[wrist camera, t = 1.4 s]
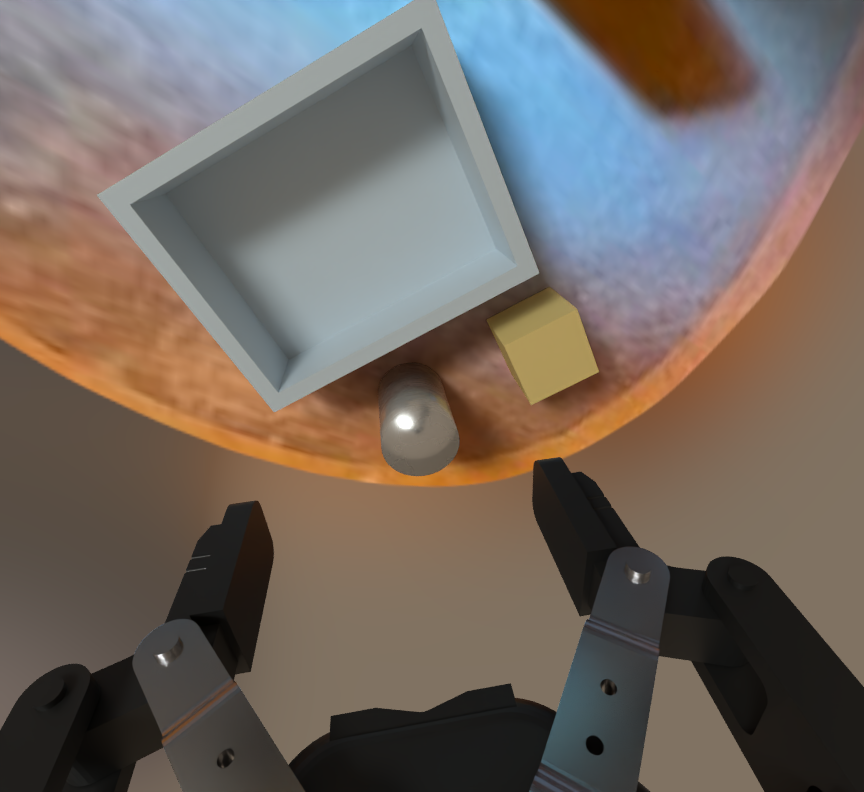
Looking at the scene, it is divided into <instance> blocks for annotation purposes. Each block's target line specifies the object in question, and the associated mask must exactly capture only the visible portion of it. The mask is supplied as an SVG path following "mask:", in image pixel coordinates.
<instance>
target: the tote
mask: <svg viewBox="0 0 864 792" xmlns="http://www.w3.org/2000/svg"><path fill="white" fill-rule="evenodd" d="M97 196H98V197H99V198H100V200H101V201H102V202H103V203H104V205H105V206H106V207H107V208H108V209H109V211H110V212H111V213H112V214H113V216H114V217H115V218H116V219H117V221H118V222H119V223H120V224H121V225H122V227H123V228H124V229H125V230H126V232H127V233H128V234H129V235H130V236H131V238H132V239H133V240H134V241H135V243H136V244H137V245H138V246H139V247H140V249H141V250H142V251H143V252H144V254H145V255H146V256H147V257H148V258H149V260H150V261H151V262H152V263H153V265H154V266H155V267H156V268H157V269H158V271H159V272H160V273H161V274H162V276H163V277H164V278H165V279H166V280H167V282H168V283H169V284H170V285H171V287H172V288H173V289H174V290H175V292H176V293H177V294H178V295H179V296H180V298H181V299H182V300H183V301H184V303H185V304H186V305H187V306H188V307H189V309H190V310H191V311H192V312H193V314H194V315H195V316H196V317H197V318H198V320H199V321H200V322H201V323H202V325H203V326H204V327H205V328H206V329H207V331H208V332H209V333H210V334H211V336H212V337H213V338H214V339H215V340H216V342H217V343H218V344H219V345H220V347H221V348H222V349H223V350H224V351H225V353H226V354H227V355H228V356H229V358H230V359H231V360H232V361H233V363H234V364H235V365H236V366H237V367H238V369H239V370H240V371H241V372H242V374H243V375H244V376H245V377H246V378H247V380H248V381H249V382H250V383H251V385H252V386H253V387H254V388H255V389H256V391H257V392H258V393H259V394H260V396H261V397H262V398H263V399H264V400H265V402H266V403H267V404H268V405H269V407H270V408H271V409H272V410H273V411H274V412H276V411H278V410H280V409H281V408H283V407H285V406H287V405H289V404H291V403H293V402H295V401H297V400H299V399H300V398H302V397H304V396H306V395H308V394H310V393H312V392H314V391H316V390H318V389H320V388H321V387H323V386H325V385H327V384H329V383H331V382H333V381H335V380H337V379H339V378H341V377H342V376H344V375H346V374H348V373H350V372H352V371H354V370H356V369H358V368H360V367H362V366H363V365H365V364H367V363H369V362H371V361H373V360H375V359H377V358H379V357H381V356H383V355H384V354H386V353H388V352H390V351H392V350H394V349H396V348H398V347H400V346H402V345H403V344H405V343H407V342H409V341H411V340H413V339H415V338H417V337H419V336H421V335H423V334H424V333H426V332H428V331H430V330H432V329H434V328H436V327H438V326H440V325H442V324H444V323H445V322H447V321H449V320H451V319H453V318H455V317H457V316H459V315H461V314H463V313H465V312H466V311H468V310H470V309H472V308H474V307H476V306H478V305H480V304H482V303H484V302H486V301H487V300H489V299H491V298H493V297H495V296H497V295H499V294H501V293H503V292H505V291H507V290H508V289H510V288H512V287H514V286H516V285H518V284H520V283H522V282H524V281H526V280H527V279H529V278H531V277H533V276H535V275H537V274H539V271H538V268H537V265H536V263H535V260H534V258H533V255H532V252H531V250H530V247H529V244H528V242H527V239H526V236H525V234H524V231H523V229H522V226H521V223H520V221H519V218H518V215H517V213H516V210H515V208H514V205H513V202H512V200H511V197H510V194H509V192H508V189H507V186H506V184H505V181H504V179H503V176H502V173H501V171H500V168H499V165H498V163H497V160H496V157H495V155H494V152H493V150H492V147H491V144H490V142H489V139H488V136H487V134H486V131H485V129H484V126H483V123H482V121H481V118H480V115H479V113H478V110H477V107H476V105H475V102H474V100H473V97H472V94H471V92H470V89H469V86H468V84H467V81H466V79H465V76H464V73H463V71H462V68H461V65H460V63H459V60H458V57H457V55H456V52H455V50H454V47H453V44H452V42H451V39H450V36H449V34H448V31H447V28H446V26H445V23H444V21H443V18H442V15H441V13H440V10H439V7H438V5H437V2H436V0H414V1H412V2H410V3H409V4H407V5H406V6H404V7H402V8H401V9H399V10H397V11H396V12H394V13H393V14H391V15H389V16H388V17H386V18H384V19H383V20H381V21H380V22H378V23H376V24H375V25H373V26H371V27H370V28H368V29H366V30H365V31H363V32H362V33H360V34H358V35H357V36H355V37H353V38H352V39H350V40H349V41H347V42H345V43H344V44H342V45H340V46H339V47H337V48H336V49H334V50H332V51H331V52H329V53H327V54H326V55H324V56H323V57H321V58H319V59H318V60H316V61H314V62H313V63H311V64H310V65H308V66H306V67H305V68H303V69H301V70H300V71H298V72H296V73H295V74H293V75H292V76H290V77H288V78H287V79H285V80H283V81H282V82H280V83H279V84H277V85H275V86H274V87H272V88H270V89H269V90H267V91H266V92H264V93H262V94H261V95H259V96H257V97H256V98H254V99H253V100H251V101H249V102H248V103H246V104H244V105H243V106H241V107H240V108H238V109H236V110H235V111H233V112H231V113H230V114H228V115H226V116H225V117H223V118H222V119H220V120H218V121H217V122H215V123H213V124H212V125H210V126H209V127H207V128H205V129H204V130H202V131H200V132H199V133H197V134H196V135H194V136H192V137H191V138H189V139H187V140H186V141H184V142H183V143H181V144H179V145H178V146H176V147H174V148H173V149H171V150H170V151H168V152H166V153H165V154H163V155H161V156H160V157H158V158H156V159H155V160H153V161H152V162H150V163H148V164H147V165H145V166H143V167H142V168H140V169H139V170H137V171H135V172H134V173H132V174H130V175H129V176H127V177H126V178H124V179H122V180H121V181H119V182H117V183H116V184H114V185H113V186H111V187H109V188H108V189H106V190H104V191H103V192H101V193H100V194H98V195H97Z"/></svg>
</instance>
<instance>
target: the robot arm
mask: <svg viewBox="0 0 864 792" xmlns="http://www.w3.org/2000/svg"><path fill="white" fill-rule="evenodd" d="M532 502H533V510H534V514H535V518H536V521H537V523H538V525H539V527H540V530H541V532H542V534H543V536H544V539H545V541H546V543H547V545H548V547H549V550H550V552H551V554H552V556H553V558H554V561H555V563H556V565H557V567H558V569H559V572H560V574H561V576H562V578H563V580H564V583H565V585H566V587H567V589H568V591H569V593H570V596H571V598H572V600H573V602H574V604H575V607H576V609H577V611H578V613H579V616H584V615H590V614H591V615H590V618H589V620H588V619H587V620H586V622H585V625H584V627H583V631H582V634H581V637H580V640H579V643H578V646H577V649H576V653H575V656H574V659H573V662H572V665H571V669H570V672H569V675H568V678H567V681H566V684H565V687H564V691H563V694H562V697H561V700H560V703H559V707H558V710H557V712H555V711H554V710H552V709H550V708H548V707H546V706H544V705H541V704H539V703H536V702H533V701H529V700H525V699H520V698H515V697H514V694H513V690H512V686H511V684H505V685H499V686H495V687H489V688H483V689H477V690H472V691H467V692H465V693H463V694H461V695H459V696H457V697H455V698H453V699H451V700H449V701H446V702H444V703H442V704H440V705H438V706H436V707H435V708H432V709H430V710H428V711H425V712H411V711H402V710H391V709H382V708H373V709H367V710H362V711H356V712H351V713H345V714H340V715H334V716H331V722H330V732H329V733H327V734H325V735H323V736H322V737H320V738H319V739H317V740H315V741H314V742H312V743H311V744H310V745H309V746H307V747H306V748H305V749H304V750H302V751H301V752H300V753H299V754H298V755H297V756H296V757H295V758H294V759H293V760H292V761H291V763H290V764H289V765H288V764H287V762H286V760H285V759H284V757H283V756H282V754H281V753H280V751H279V749H278V748H277V746H276V745H275V743H274V741H273V740H272V738H271V737H270V735H269V734H268V732H267V731H266V729H265V727H264V726H263V724H262V722H261V721H260V719H259V718H258V716H257V714H256V713H255V711H254V710H253V708H252V707H251V705H250V704H249V702H248V700H247V699H246V697H245V695H244V694H243V692H242V691H241V689H240V688H239V686H238V685H237V683H236V682H235V681H234V677H235V674H240V673H245V672H251V667H252V662H253V657H254V653H255V648H256V643H257V638H258V633H259V628H260V623H261V618H262V614H263V608H264V604H265V599H266V593H267V589H268V584H269V579H270V574H271V569H272V565H273V558H274V557H273V556H274V549H273V541H272V538H271V535H270V532H269V529H268V526H267V523H266V520H265V517H264V514H263V511H262V508H261V505H260V503H259V502H258V501H250V502H243V503H236V504H230V505H229V506H228V508H227V510H226V513H225V516H224V518H223V521H222V524H220V525H213V526H210V528H209V529H208V530H207V531H206V532H205V533H204V535H203V536H202V537H201V538H200V539H199V540H198V542H197V544H196V547H195V549H194V552H193V554H192V560H190V562H189V564H188V567H187V569H186V571H187V572H186V573H185V574H184V577H183V579H182V582H181V584H180V587H179V589H178V592H177V594H176V597H175V599H174V602H173V604H172V607H171V609H170V612H169V614H168V617H167V619H166V622H165V624H163V625H161V626H159V627H158V628H156V629H155V630H153V631H152V632H151V633H149V634H148V635H147V636H146V637H145V638H144V639H143V640H142V642H141V643H140V644H139V646H138V648H137V649H136V651H135V654H134V655H132V656H130V657H128V658H126V659H124V660H122V661H120V662H117V663H115V664H113V665H111V666H108V667H106V668H104V669H101V670H99V671H97V672H95V673H92V674H91V673H90V672H89V670H88V669H87V668H86V667H85V666H83V665H80V664H68V665H64V666H60V667H58V668H56V669H54V670H52V671H50V672H48V673H46V674H44V675H43V676H41V677H40V678H39V679H37V680H36V681H35V682H34V683H33V684H31V685H30V686H29V687H28V688H27V689H26V690H25V691H24V692H23V693H22V695H21V696H20V697H19V698H18V700H17V702H16V703H15V705H14V707H13V708H12V710H11V712H10V714H9V716H8V717H7V719H6V721H5V723H4V725H3V726H2V728H1V730H0V792H127V790H128V787H129V784H130V780H131V777H132V774H133V770H134V768H135V764H136V761H137V760H140V759H141V758H143V757H145V756H147V755H149V754H151V753H153V752H155V751H157V750H159V749H161V748H163V747H164V749H165V752H166V754H167V756H168V759H169V761H170V763H171V766H172V768H173V770H174V772H175V775H176V777H177V780H178V782H179V784H180V786H181V788H182V791H183V792H650V791H649V790H648V789H647V788H645V787H644V786H643V785H642V784H641V783H640V782H638V778H639V772H640V766H641V760H642V754H643V748H644V742H645V736H646V729H647V724H648V718H649V712H650V705H651V700H652V693H653V688H654V681H655V675H656V669H657V663H658V657H659V656H663V657H670V658H676V659H683V660H690V661H692V663H693V665H694V667H695V668H696V670H697V672H698V674H699V676H700V677H701V679H702V681H703V683H704V685H705V686H706V688H707V690H708V692H709V694H710V695H711V697H712V699H713V701H714V703H715V704H716V706H717V708H718V709H719V711H720V713H721V715H722V717H723V719H724V720H725V722H726V724H727V726H728V728H729V729H730V731H731V733H732V735H733V736H734V738H735V740H736V742H737V743H738V745H739V747H740V749H741V751H742V752H743V754H744V756H745V758H746V759H747V761H748V763H749V765H750V767H751V768H752V770H753V772H754V774H755V776H756V777H757V779H758V781H759V783H760V785H761V786H762V788H763V790H764V792H864V687H863V686H862V685H861V683H860V682H859V681H858V680H857V679H856V677H855V676H854V675H853V674H852V673H851V671H850V670H849V669H848V668H847V667H846V666H845V665H844V663H843V662H842V661H841V660H840V659H839V657H838V656H837V655H836V654H835V653H834V651H833V650H832V649H831V648H830V647H829V645H828V644H827V643H826V642H825V641H824V640H823V638H822V637H821V636H820V635H819V634H818V633H817V631H816V630H815V629H814V628H813V626H812V625H811V624H810V623H809V622H808V621H807V619H806V618H805V617H804V616H803V615H802V613H801V612H800V611H799V610H798V609H797V608H796V606H794V604H793V603H792V602H791V600H790V599H789V598H788V597H787V596H786V595H785V593H784V592H783V591H782V590H781V589H780V588H779V586H778V585H777V584H776V583H775V582H774V580H773V579H772V578H771V577H770V576H769V575H768V574H767V573H766V572H765V571H764V570H763V569H761V568H760V567H758V566H757V565H755V564H753V563H751V562H748V561H746V560H744V559H740V558H736V557H719V558H716V559H714V560H712V561H711V562H710V563H709V565H708V567H707V570H706V571H701V570H693V569H683V568H676V567H671V566H667V565H666V564H665V563H664V562H663V560H662V559H661V558H659V557H658V556H657V555H655V554H654V553H652V552H650V551H648V550H646V549H643V548H640V547H639V546H638V544H637V543H636V541H635V540H634V539H633V537H632V535H631V534H630V533H629V531H628V530H627V528H626V527H625V525H624V524H623V522H622V521H621V519H620V518H619V516H618V515H617V513H616V512H615V510H614V509H613V508H611V504H610V503H609V501H608V500H607V498H606V497H604V494H603V492H602V491H601V490H600V488H599V487H598V485H597V484H596V482H595V481H593V480H592V479H590V478H589V477H588V476H586V475H585V474H584V473H582V472H576V473H571V472H570V471H569V469H568V468H567V466H566V464H565V463H564V461H563V460H562V458H560V457H558V458H551V459H544V460H537V461H535V462H534V468H533V497H532Z"/></svg>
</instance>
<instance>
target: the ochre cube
mask: <svg viewBox="0 0 864 792" xmlns="http://www.w3.org/2000/svg"><path fill="white" fill-rule="evenodd" d="M486 320H487V322H488V325H489V327H490V329H491V331H492V333H493V335H494V338H495V340H496V342H497V344H498V346H499V348H500V350H501V353H502V355H503V357H504V359H505V361H506V363H507V366H508V368H509V370H510V372H511V374H512V376H513V377H514V379H515V380H516V382H517V383H518V385H519V387H520V388H521V390H522V391H523V393H524V395H525V396H526V398H527V399H528V401H529V403H530V404H531V405H532V404H534V403H536V402H538V401H541V400H543V399H545V398H547V397H549V396H551V395H553V394H555V393H557V392H559V391H561V390H563V389H565V388H567V387H569V386H571V385H573V384H575V383H577V382H579V381H581V380H584V379H586V378H588V377H590V376H592V375H594V374H596V373H598V372H599V370H598V368H597V365H596V362H595V359H594V356H593V353H592V350H591V348H590V345H589V342H588V339H587V336H586V333H585V330H584V327H583V325H582V322H581V319H580V316H579V313H578V310H577V309H576V308H575V307H574V306H573V305H571V304H570V303H569V302H568V301H567V300H565V299H564V298H563V297H562V296H560V295H559V294H558V293H557V292H555V291H554V290H553V289H552V288H550V287H548V288H546V289H544V290H542V291H540V292H539V293H537V294H535V295H533V296H531V297H529V298H527V299H525V300H523V301H521V302H519V303H517V304H515V305H513V306H511V307H510V308H508V309H506V310H504V311H502V312H500V313H498V314H496V315H494V316H492V317H490V318H488V319H486Z"/></svg>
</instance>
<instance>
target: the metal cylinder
mask: <svg viewBox="0 0 864 792" xmlns="http://www.w3.org/2000/svg"><path fill="white" fill-rule="evenodd" d="M378 404H379V418H380V433H381V448H382V454H383V456H384V458H385V460H386V462H387V463H388V464H389V465H390V466H391V467H392V468H393V469H395V470H396V471H398V472H400V473H403V474H406V475H410V476H425V475H429V474H433V473H435V472H438V471H440V470H441V469H443V468H444V467H446V466H447V465H448V464H449V463H450V462H451V461H452V460H453V459H454V457H455V455H456V453H457V451H458V448H459V434H458V431H457V427H456V424H455V421H454V418H453V415H452V412H451V409H450V406H449V403H448V400H447V397H446V394H445V391H444V388H443V385H442V382H441V380H440V378H439V376H438V375H437V374H436V372H435V371H433V370H432V369H431V368H429V367H427V366H425V365H422V364H418V363H406V364H402V365H399V366H396V367H394V368H393V369H391V370H390V371H388V372H387V373H386V374H385V375H384V377H383V378H382V380H381V382H380V384H379V387H378Z"/></svg>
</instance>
